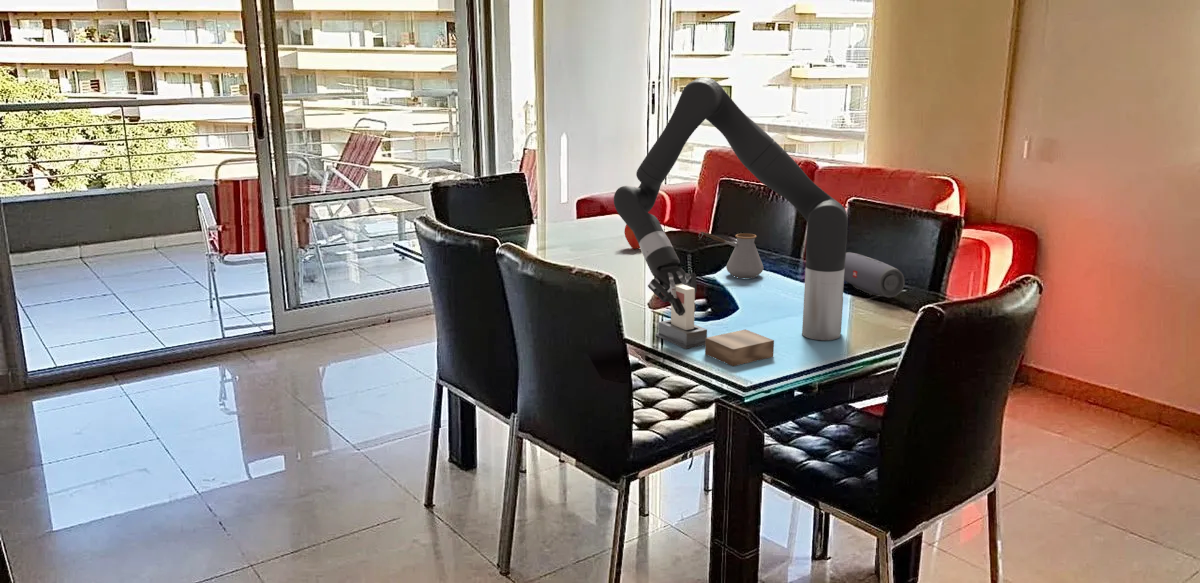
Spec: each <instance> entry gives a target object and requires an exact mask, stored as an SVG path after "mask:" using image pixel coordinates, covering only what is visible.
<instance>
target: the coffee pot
mask: <svg viewBox="0 0 1200 583" xmlns="http://www.w3.org/2000/svg"><path fill="white" fill-rule="evenodd" d="M700 235H701V237H700V239H702V237H703V236H705V237H706V238H710V239H712V240H714V241H718V242H721V243H723V244H727V245H730V246H732V247H734V249H733V251H732V253H731V254H730V257H729V259H728V261H727V263H726V266H725V268H726V270H727V272H728V274H730V275H731V276H732V275H733V276H735V277H738V278H737V279H740V278H752V279H756V278H758V276H759V275H760V274H761V273H762V272H763V270H764V265H763V264H764V263H763V262H762V259H761V257H760V255H759V252H758V249H757V247H756V244H755V240H756V238H757V235H756V234H753V233H737V234H735V238H736V240H737V242H736V243H734V242H731V241H728V240H726V239H724V238H721V237H719V236H717V235H715V234H710V232H709V233H707V232H704V231H700V232H699V234H698V236H700ZM733 276H732V277H733ZM735 277H734V278H735ZM755 277H756V278H755Z"/></svg>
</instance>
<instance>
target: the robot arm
mask: <svg viewBox="0 0 1200 583" xmlns="http://www.w3.org/2000/svg"><path fill="white" fill-rule="evenodd" d="M705 120H707V121H708V122H709V123H710V125H712V126H713V127H715V129H717V130H718V131H719V132H720V133H721V135H722V136H723V137H724V139H726V141H727V142H728V144H729V146H730V147H731V150H732V151H733V152H734V154H735V156H736V157H737V159H738V160H739V161H740V163H742V165H743V166H744V167H745V168H746V169H747V170H748V171H749V172H750V173H751V174H752V175H753V176H754V178H756V179H757V180H759V182H761V183H762V184H763V185H764V186H766V187H767V188H769V189H771V190H772V191H773V192H775V193H776V194H778V195H779V196H781V197H783V199H785V200H786V201H788V202H789V203H790V204H791V205H792V206H793V208H795V209H796V210H797V211H798V212H799V213H800V215H802V217H803V218H804V220H805V221H806V222H807V225H806V227H807V228H806V246H805V248H806V249H805V272H804V273H805V274H804V289H803V290H804V292H803V308H802V309H803V311H802V312H803V313H802V325H801V326H802V327H801V332H802V333H801V334H802V336H803V337H806V338H807V339H809V340H815V341H816V340H817V341H832V340H833V341H834V340H838V339H839V338H841V333H842V325H843V324H842V322H843V309H844V308H843V307H844V306H843V305H844V287H845V286H844V285H845V280H844V270H845V258H846V253H847V242H848V225H849V224H848V221H849V219H848V214H847V210H846V209H845V207H844V206H843V205H842V204H841V203H840V202H839V201H837V200H836V199H835V198H833V197H832V196H831V195H829V194H828V193H827V192H825V190H823V189H822V188H821V187H819V185H817V184H816V183H815V182H814V181H813V180H812V179H810V177H809V176H808V175H807V174H806V173H805V172H804V170H803V169H802V167H800V165H799V164H798V163H797V162H796V161H795V159H794V158H792V156H790V155H789V153H788V152H787V151H786V150H785V149H784V148H783V147H782V146H781V145H780V144H779V143H778V142H776V140H774V138H772V137H771V136H770V135H769V134H768V133H767V132H766V131H765V130H763V129H762V127H760V126H759V125H758V124H757V123H756V122H755V121H754V120H753V119H751V118H750V117H749V116H748V115H746V114H745V112H743V110H742V109H741V108H739V106H738V105H737V104H736V102H735V101H734V100H733V99H732V98H731V97H730V96H729V94H728V93H727V91H725V89H724V88H723V87H722V85H721V84H720V83H719V82H718V81H716V80H715V79H713V78H710V77H704V76H703V77H699V78H695V79H694V80H692V81H690V82H689V83H688V84H686V85H685V86H684V88H683V89H682V92H681V94H680V96H679V98H678V101H677V104H676V105H675V108H674V110H673V112H672V115H671V117H670V119H669V120H668V122H667V124H666V125H665V128H664V130H663V131H662V133H661V134H660V136H658V138H657V140H656V141H655V143H654V144H653V145H652V146H651V148H650V150H649V151H648V153H647V155H646V156H645V158H644V159H643V160H642V162H641V163H640V165H639V167H638V168H637V171H636V178H637V180H638V181H639V182H640V184H639V185H638V187H636V186H631V185H624V186H620V187H619V188H617V189H616V191H615V192H614V194H613V205H614V208H615V210H616V212H617V214H618V215H619V217H620V218H621V219H622V221H623V222H624V223H625V225H626V224H627V225H628V226H629V228H630V229H631V230H632V231H633V233H634V235H635V237H636V239H637V241H638V243H639V246H640V248H639V249H640V251H641V253H642V254H641V255H642V256H643V258H644V260H645V262H646V264H647V267H648V269H649V270H650V273H651V275H652V276H653V278H652V279H651V281H650V282H649V283H648V284H647V288H648V289H649V290H651V292H652V293H653V294H654V295H656V297H658V298H659V300H661V301H662V302H663V303H667V302H668V303H669V304H670V305H671V304H672V306H673V308H674V310H675V312H676V313H677V314H678V315H679V316H681V315H683V314H684V313H685V309H684V307H683V305H682V303H681V301H680V299H679V298H678V296H677V293H676V287H675V285H676V284H683V285H686V286H689V287H692V288H695V294H696V293H697V292H698V288H697V286H698V285H697V274H696V273H695V272H691V274H690V273H687V272H686V271H685V270H684V269H683V267H682V266H681V261H680V258H679V257H678V255H677V252H676V251H675V248H674V246H673V245H672V243H671V240H670V239H669V237H668V236H667V234H666V232H665V231H664V229H663V227H662V225H661V223H660V221H659V219H658V217H656V215H654V214H652V213H650V211H651V210H652V209H653V207H654V206H655V203H656V201H657V199H658V198H657V197H658V195H659V192H660V189H661V186H662V184H663V182H664V181H665V179H666V178H667V176H668V175H669V173H670V171H672V169H673V167H674V166H675V164H676V162H677V160H678V159H679V156H680V154H681V153H682V151H683V149H684V146H685V145H686V143H687V141H688V140H689V139H690V137H691V136H692V135H693V134H694V132H695V131H696V130H697V128H699V126H701V124H703V122H704V121H705ZM677 298H678V299H677ZM696 311H697V305H696V303H695V306H694V313H695V312H696Z"/></svg>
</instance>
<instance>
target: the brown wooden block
mask: <svg viewBox="0 0 1200 583" xmlns="http://www.w3.org/2000/svg"><path fill="white" fill-rule="evenodd" d="M704 346H705V347H704V348H705V350H704V355H706V356H708V355H709V356H708V357H710V356H711V358H713V357H714V358H713V359H715V358H716V359H715V360H718V361H719V360H720V362H721V363H724V362H725V363H724V364H726V363H727V364H726V365H729V366H731V367H736V366H740V364H741V365H745V364H748V363H753V361H754V362H757V360H758V361H761V360H765V359H771V358H774V353H775V352H774V346H775V340H774V339H771V338H770V337H767V336H764V335H761V334H758V333H756V332H753V331H750V330H747V328H746V329H742V330H736V331H732V332H727V333H722V334H717V335H713V336H712V335H711V336H707V338H706V339H705V345H704ZM770 357H771V358H770ZM744 363H745V364H744Z"/></svg>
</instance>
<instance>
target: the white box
mask: <svg viewBox="0 0 1200 583" xmlns="http://www.w3.org/2000/svg"><path fill="white" fill-rule="evenodd" d="M675 287H676V293H677V296H678V298H679V299H680V301H681V303H682V305H683V307H684V309H685V313H684V314H683V315H681V316H679V315H678V314H677V313H676V312H675V310H674V308H673V306H672V304H671V303H670V320H671V324H672V325H674V326H677V327H679V328H682V329H684V330H689V329H694V325H695V312H694V306H695V304H696V303H695V302H696V300H695V299H696V293H695V288H692V287H689V286H686V285H683V284H676V285H675ZM678 298H677V299H678Z"/></svg>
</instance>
